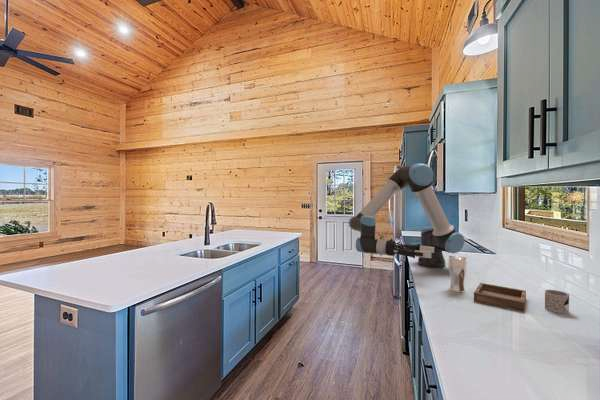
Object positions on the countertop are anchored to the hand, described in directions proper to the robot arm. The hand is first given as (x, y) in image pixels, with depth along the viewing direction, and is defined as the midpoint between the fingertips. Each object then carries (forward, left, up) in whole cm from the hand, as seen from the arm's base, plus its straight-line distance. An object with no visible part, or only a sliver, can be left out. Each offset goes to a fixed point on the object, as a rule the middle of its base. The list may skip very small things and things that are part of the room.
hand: (432, 252), depth 131 cm
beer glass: (-2, +10, -16) cm, 19 cm away
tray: (0, +26, -16) cm, 30 cm away
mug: (-3, +43, -17) cm, 46 cm away
